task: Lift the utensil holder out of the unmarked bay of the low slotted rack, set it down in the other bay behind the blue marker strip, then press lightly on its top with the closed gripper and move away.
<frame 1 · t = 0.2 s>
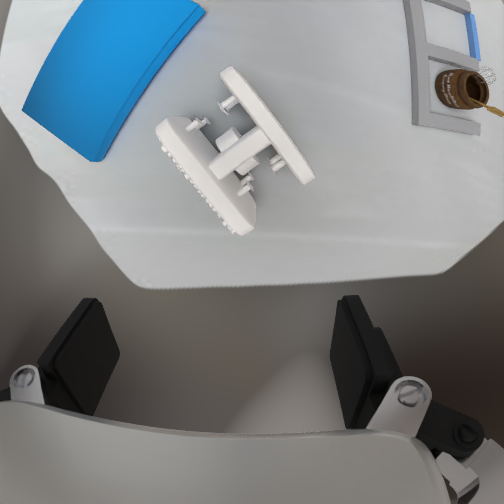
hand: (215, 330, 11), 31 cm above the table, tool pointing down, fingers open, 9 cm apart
slotted rack: (442, 56, 30), on the table
utensil holder: (448, 90, 32), on the table
book: (109, 60, 32), on the table
cable organizer: (240, 144, 38), on the table
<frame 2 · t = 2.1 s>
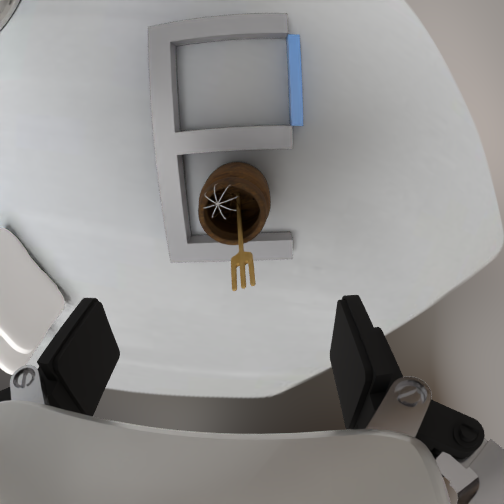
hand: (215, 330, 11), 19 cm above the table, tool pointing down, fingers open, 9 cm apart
slotted rack: (223, 138, 26), on the table
utensil holder: (238, 191, 29), on the table
cable organizer: (27, 280, 34), on the table
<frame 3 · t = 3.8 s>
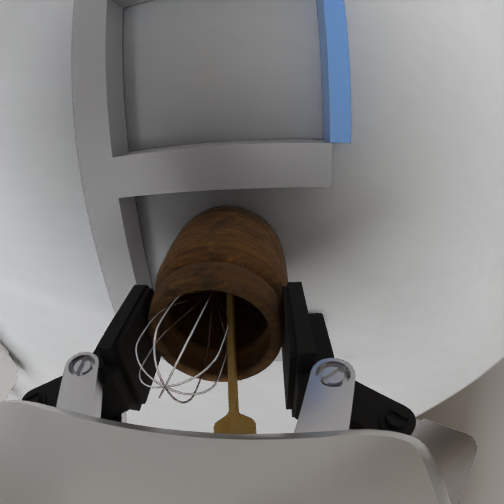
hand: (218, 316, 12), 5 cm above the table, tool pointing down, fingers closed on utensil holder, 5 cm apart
slotted rack: (203, 162, 15), on the table
utensil holder: (230, 254, 17), on the table, touching gripper
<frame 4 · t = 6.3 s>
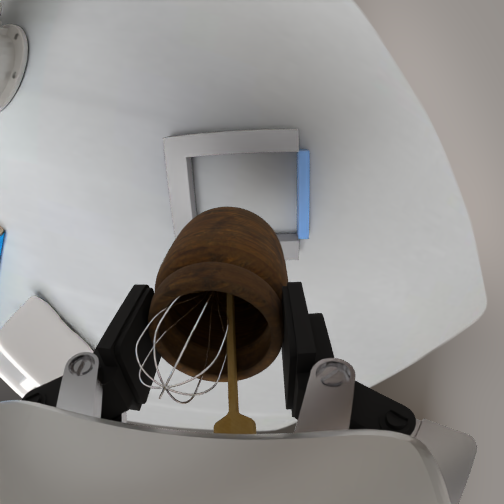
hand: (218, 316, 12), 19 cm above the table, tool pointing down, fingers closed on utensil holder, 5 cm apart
slotted rack: (238, 244, 31), on the table
utensil holder: (230, 254, 17), point 13 cm above the table, touching gripper
cable organizer: (59, 336, 39), on the table
when the fingers open (7 cm above the table, at t = 9.0 s): utensil holder drops 1 cm, on the table.
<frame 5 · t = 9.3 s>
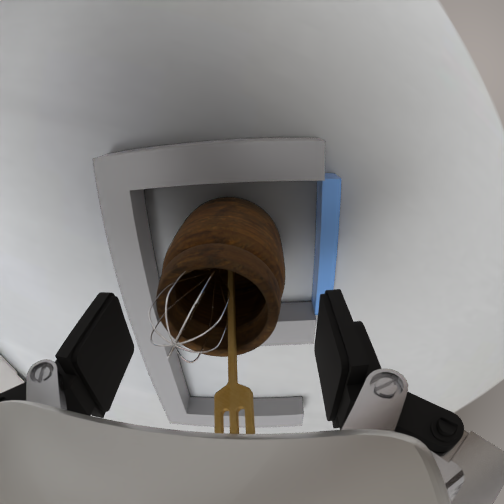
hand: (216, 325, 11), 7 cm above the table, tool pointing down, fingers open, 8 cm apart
slotted rack: (223, 315, 20), on the table
utensil holder: (231, 242, 18), on the table
cable organizer: (21, 389, 28), on the table
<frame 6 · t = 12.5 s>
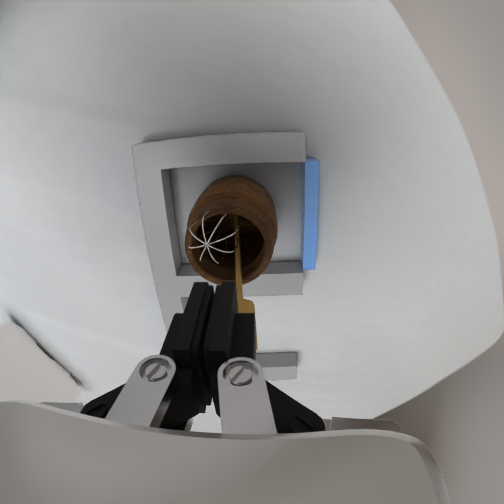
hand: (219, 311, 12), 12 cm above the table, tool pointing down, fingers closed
slotted rack: (229, 273, 26), on the table
utensil holder: (236, 211, 24), on the table
cable organizer: (38, 362, 33), on the table
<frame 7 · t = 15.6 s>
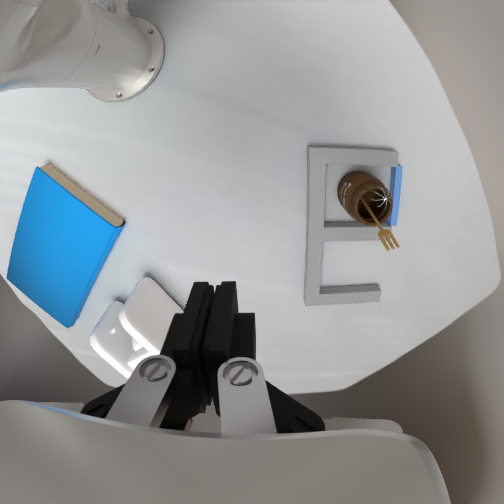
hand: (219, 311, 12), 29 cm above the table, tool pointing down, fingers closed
slotted rack: (347, 228, 41), on the table
utensil holder: (356, 191, 39), on the table
book: (62, 247, 44), on the table
cable organizer: (159, 316, 49), on the table
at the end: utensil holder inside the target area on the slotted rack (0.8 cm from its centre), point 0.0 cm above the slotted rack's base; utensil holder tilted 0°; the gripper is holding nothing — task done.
